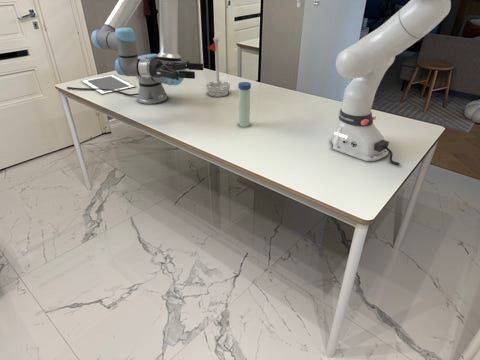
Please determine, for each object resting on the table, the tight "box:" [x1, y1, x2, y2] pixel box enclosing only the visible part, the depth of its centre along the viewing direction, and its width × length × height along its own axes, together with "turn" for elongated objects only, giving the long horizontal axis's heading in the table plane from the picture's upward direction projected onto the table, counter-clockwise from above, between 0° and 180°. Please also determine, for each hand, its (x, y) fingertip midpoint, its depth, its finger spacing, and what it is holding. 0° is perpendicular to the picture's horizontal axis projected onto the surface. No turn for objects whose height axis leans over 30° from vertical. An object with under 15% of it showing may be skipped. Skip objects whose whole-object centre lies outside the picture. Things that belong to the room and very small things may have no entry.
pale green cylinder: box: [238, 88, 251, 128], centre depth 150 cm, size 5×5×19 cm
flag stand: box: [205, 36, 231, 98], centre depth 183 cm, size 13×13×30 cm
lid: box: [237, 81, 252, 90], centre depth 145 cm, size 5×5×2 cm
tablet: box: [81, 74, 136, 95], centre depth 206 cm, size 32×20×1 cm, turn 41°
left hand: (199, 70), depth 144 cm, fingers open, 13 cm apart
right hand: (308, 6), depth 134 cm, fingers open, 8 cm apart
